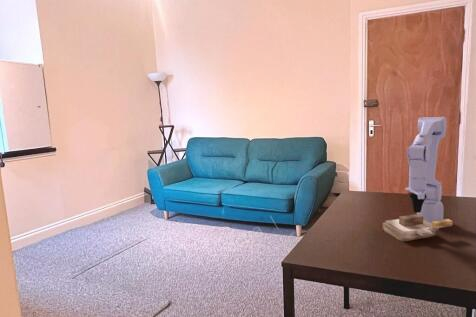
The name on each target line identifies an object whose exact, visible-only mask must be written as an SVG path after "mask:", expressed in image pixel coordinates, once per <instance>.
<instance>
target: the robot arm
mask: <svg viewBox="0 0 476 317" xmlns="http://www.w3.org/2000/svg"><path fill="white" fill-rule="evenodd" d="M447 122H448V121H447V118H446V116H436V117H435V116H434V117H433V116H431V117H430V116H429V117H428V116H427V117H426V116H424V117H422V116H420V117H419V118H418V120H417V130H418V134H417V135H416V136H415V138H414V140H413V142H412V144H411V145H410V146H408V148H407V151H406V152H407V153H406V158H407V165H408V168H409V169H408V187H405V191H406V192H408V195H409V199H410V201H411V206H412V211H413V213H416V214H419V215H421V216H423V220H425V221H427V222H429V223H431V224H432V221H438V220H444V204H443V202H442V201H441V200H442V195H443V194H442V192H443V190H442V188H443V186H442V183H441V182H440V181H439V180H438V179H437V178H436V170H437V160H438V150H439V145H440V141H441V140H443V139H445V138H446V136H447V134H446V133H447V127H448V126H447V125H448V123H447Z"/></svg>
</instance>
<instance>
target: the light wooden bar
mask: <svg viewBox="0 0 476 317" xmlns="http://www.w3.org/2000/svg"><path fill="white" fill-rule="evenodd" d="M432 227H434V228H439V229H441V228H442V229H443V228H447V227H448V228H449V227H453V220H452V219H450V218H445V219H443V220H438V221H432Z"/></svg>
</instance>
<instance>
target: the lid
mask: <svg viewBox="0 0 476 317" xmlns="http://www.w3.org/2000/svg"><path fill="white" fill-rule="evenodd" d="M384 223H386V224H388V225H389V226H391V227H393V228H394V229H396V230H398V231H399V232H401V233H403V234H411V233H418V234H420V235H421V236H425V235H432V232H431V231H433V230H435V231H439V229H440V228H434V227H432V224H431V223H429V222H427V221H425V220H423V216H421V215H419V214H417V213H416V214H408V215H407V214H406V215H400V216H399V217H398V218H397V219H389V220H384Z"/></svg>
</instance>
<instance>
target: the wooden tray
mask: <svg viewBox="0 0 476 317" xmlns="http://www.w3.org/2000/svg"><path fill="white" fill-rule="evenodd" d="M382 231H384V232H385V233H387V234H388V235H390V236H392V237H394V238H395V239H397V240H398V241H401V242H408V241H414V240H420V239H427V238H433V237H436V230H433V231H431V232H432V235H425V236H421V235H420V234H418V233H411V234H403V233H401V232H399V231H398V230H396V229H394V228H393V227H391V226H389V225H388V224H386V223H385V222H383V223H382Z"/></svg>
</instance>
